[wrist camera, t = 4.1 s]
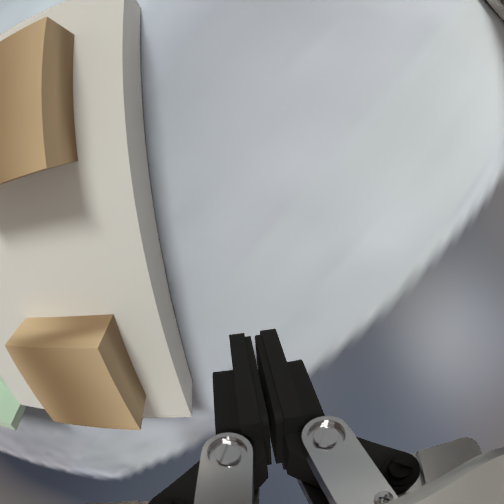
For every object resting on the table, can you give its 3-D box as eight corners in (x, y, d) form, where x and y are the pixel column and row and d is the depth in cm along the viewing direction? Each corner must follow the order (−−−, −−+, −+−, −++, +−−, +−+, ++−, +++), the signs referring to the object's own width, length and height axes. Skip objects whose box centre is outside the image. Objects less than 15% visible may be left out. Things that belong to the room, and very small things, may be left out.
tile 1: (74, 34, 6) (47, 16, 4) (77, 160, 8) (46, 168, 6) (-17, 80, 5) (-49, 76, 4) (-12, 189, 7) (-45, 202, 5)
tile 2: (113, 314, 10) (97, 348, 8) (146, 395, 11) (140, 429, 9) (26, 317, 9) (4, 345, 7) (65, 392, 11) (54, 421, 9)
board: (140, 7, 8) (125, -19, 5) (192, 381, 14) (191, 416, 12) (-41, 89, 7) (-70, 89, 4) (34, 378, 13) (20, 404, 11)
